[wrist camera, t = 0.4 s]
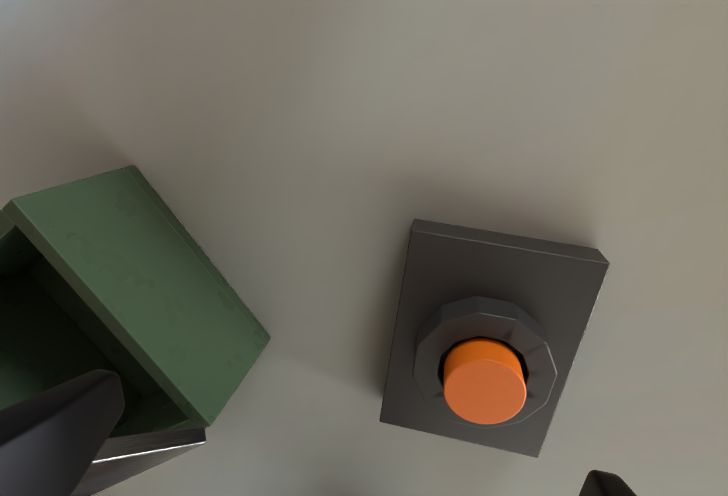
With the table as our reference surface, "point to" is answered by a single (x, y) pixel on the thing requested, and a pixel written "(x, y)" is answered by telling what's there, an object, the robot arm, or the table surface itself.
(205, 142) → the table surface
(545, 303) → the pad
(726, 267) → the table surface
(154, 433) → the grey flat plate
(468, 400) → the button
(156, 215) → the dark green boxy piece
